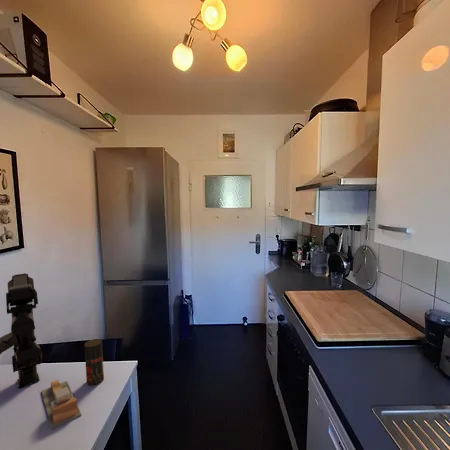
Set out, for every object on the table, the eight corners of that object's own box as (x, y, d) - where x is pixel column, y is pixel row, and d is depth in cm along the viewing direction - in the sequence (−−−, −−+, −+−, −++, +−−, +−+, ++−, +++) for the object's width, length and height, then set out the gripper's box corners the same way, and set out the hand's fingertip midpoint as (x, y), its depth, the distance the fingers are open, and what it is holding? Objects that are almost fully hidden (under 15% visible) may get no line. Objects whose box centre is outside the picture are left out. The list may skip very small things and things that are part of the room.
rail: (41, 392, 97) (40, 378, 97) (66, 382, 103) (66, 369, 102) (51, 429, 81) (50, 413, 80) (81, 415, 86) (80, 400, 85)
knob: (51, 411, 87) (50, 393, 86) (72, 402, 90) (71, 384, 90) (53, 418, 83) (52, 400, 83) (75, 409, 87) (74, 391, 87)
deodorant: (105, 381, 102) (103, 343, 101) (87, 388, 99) (85, 348, 98) (102, 373, 107) (100, 337, 106) (85, 379, 104) (83, 341, 103)
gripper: (-10, 322, 92) (-6, 366, 94) (-7, 342, 79) (-2, 393, 80) (29, 313, 100) (33, 353, 101) (39, 330, 86) (42, 376, 88)
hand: (26, 367), depth 92 cm, fingers closed
